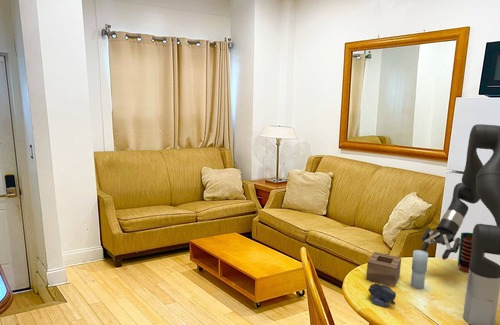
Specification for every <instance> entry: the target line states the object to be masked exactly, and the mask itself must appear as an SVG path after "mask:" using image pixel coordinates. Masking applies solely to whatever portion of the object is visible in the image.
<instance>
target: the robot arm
mask: <svg viewBox="0 0 500 325" xmlns="http://www.w3.org/2000/svg"><path fill="white" fill-rule="evenodd" d="M470 130H471V131H470V132H469V138H468V144H467V149H466V150H467V152H466V159H465V160H466V161H465V165H464V171H463V173H462V176H461V182H458V183H457V184H455V186H454V188H453V192H452V193H453V194H452V199H451V201H450V204H449V206H448V208H447V210H446V211H445V213H444V214H443V215H442V216H441V219H440V220H439V223H438V224H437V225H436V228H435V230H431V229H430V228H428V227H427V229H426V230H425V232H424V233H423V234H422V237H421V238H420V239H421V241H422V246H421V251H425V252H427V250H428V248H429V246H430V245H431V244H435V243H436V244H440V245H442V246H445V247H446V249H445V250H444V252H443V253H442V255H441V257H442V260H444V261H445V260H446V259H448V258H449V256H450V254H451V253H454V254H456V253H458V252H459V248H460V244H461V240H460V239H461V237H456V235H457V233H458V232H459V229H461V226H462V225H463V222H464V219H465V217H466V215H467V213H468V211H469V206H468V204H466V203H469V204H477V203H479V202H480V201H481V203H482V204H484V206H485V207H486V208H487V210H488V211H489V212H490V214H491V215H492V217H493V218H494V220H495V221H494V222H495V224H496V225H494V224H493V225H492V224H487V223H486V224H484V223H477V224H475V225H474V227H473V229H472V233H473V234H472V248H471V258H470V266H469V274H468V273H467V274H468V275H467V282H466V291H465V298H464V306H463V312H462V313H463V314H462V317H463V319H464V321H466V322H467V324H468V325H496V317H497V312H498V304H499V297H500V264H498V263H497V262H495V261H493V260H491V259H490V258H487V257H486V256H485V255H484V256H483V253H485V254H489V255H497V256H500V125H496V124H483V123H482V124H481V123H479V124H474V125H473V126H472V128H471V129H470ZM477 149H479V150H481V149H482V150H491V151H492V155H491V156H490V158H489V159H488V160H487V161H486V163H484V164H483V162H482V161H481V159H480V157H479V155H478V152H477ZM463 201H464V202H463ZM465 202H466V203H465ZM452 242H454V244H453V245H452V247H451V244H450V243H452Z"/></svg>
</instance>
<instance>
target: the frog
mask: <svg viewBox="0 0 500 325" xmlns="http://www.w3.org/2000/svg"><path fill="white" fill-rule="evenodd" d="M380 283H381V282H380ZM380 283H378V281H377V282H374V283H372V284H370V285H369V287H368V293H370V295H371V296H372V297H371V298H370V301H371V303H373V304H374V305H377V306H379V307H383V308H386V309H387V308H389V305H388V304H389V303H392V304H393V305H396V302H395V299H396V297H397V293H396V291H394V290H393V289H391V287H390V286H388V285H384V284H380Z"/></svg>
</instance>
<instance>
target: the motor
mask: <svg viewBox="0 0 500 325" xmlns="http://www.w3.org/2000/svg"><path fill="white" fill-rule="evenodd" d="M472 234H473V232H461V233H460V240H461V244H460V246H459V249H458V257H457V264H456V265H457V267H458V270H459V271H461V272H463V273H466V274H469V266H470V258H471V248H472ZM485 254H486V253H483V256H484V257H485Z"/></svg>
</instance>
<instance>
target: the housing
mask: <svg viewBox="0 0 500 325" xmlns="http://www.w3.org/2000/svg"><path fill="white" fill-rule="evenodd" d="M401 264H402V257H398V256H394V255H391V254H386V253H380V252H377V251H376V252H375V251H374V252H373V253H372V255H371V256H370V258H369V259H368V261H367V264H366V265H367V266H366V277H365V278H366V279H365V281H369V282H372V283H376V282H377V281H378V283H380V282H381V283H380V284H379V285H385V286H388V287H390V288H391V287H392V288H395V287H396V285H397V283H398V281H399V278H400V276H401V274H400V273H401ZM378 283H377V284H378Z"/></svg>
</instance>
